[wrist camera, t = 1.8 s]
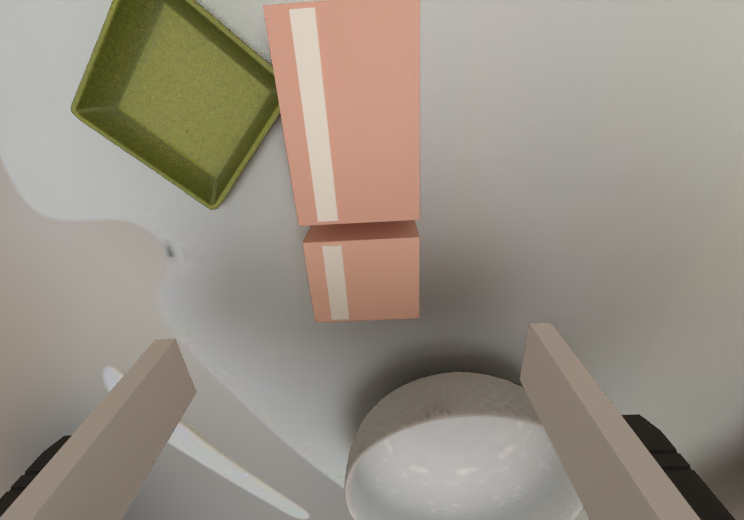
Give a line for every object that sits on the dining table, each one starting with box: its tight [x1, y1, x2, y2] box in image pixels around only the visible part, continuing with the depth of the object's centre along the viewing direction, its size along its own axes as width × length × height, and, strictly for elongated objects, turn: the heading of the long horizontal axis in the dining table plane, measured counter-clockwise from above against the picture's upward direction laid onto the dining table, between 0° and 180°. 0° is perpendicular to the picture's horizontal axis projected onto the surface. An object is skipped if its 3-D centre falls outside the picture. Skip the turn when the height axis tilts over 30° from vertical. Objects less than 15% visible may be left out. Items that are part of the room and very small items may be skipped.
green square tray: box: [71, 0, 280, 210], centre depth 19 cm, size 9×9×2 cm
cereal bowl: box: [345, 372, 583, 520], centre depth 27 cm, size 17×17×7 cm
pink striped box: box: [263, 0, 420, 226], centre depth 17 cm, size 10×6×5 cm, turn 4°
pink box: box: [303, 220, 419, 322], centre depth 21 cm, size 5×6×5 cm
